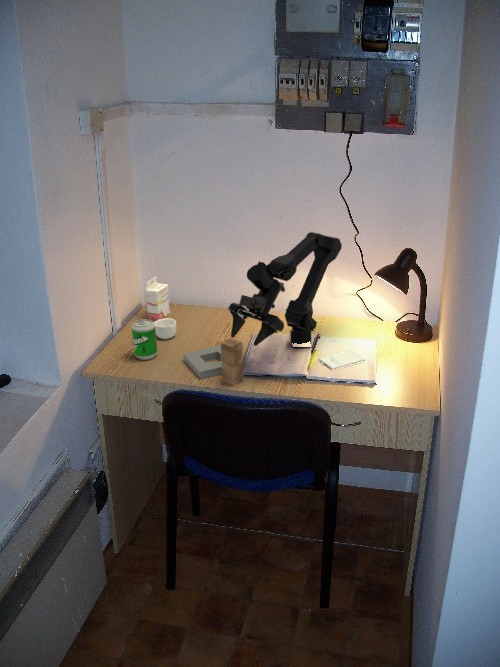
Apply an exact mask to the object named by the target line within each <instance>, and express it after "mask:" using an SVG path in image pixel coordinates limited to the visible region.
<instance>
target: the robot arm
mask: <svg viewBox="0 0 500 667" xmlns="http://www.w3.org/2000/svg"><path fill="white" fill-rule="evenodd" d="M342 245H343V244H342V242H341V239H340V238H338V237H335V236H331V235H330V236H329V235H325V234H322V233H318V232H313V231H310V232H308V233H307V234H306V236H305V237H304V238H303V239H302V240H301V241H300V242H299V243H297V245H295V246H293V248H291V250H290V251H289V252H287V253H286V254H283V255H279V256H277V257H276V258H273V259H272V260H271V261H270V262H269V263H268V264H266V263H265V262H263V261H258V262H257V264H254V265H252V266H251V267H250V268H248V270H247V271H246V279H248V281H249V282H251V284H252V285H253V286H254V287H255V288H256V289H257V290H259V291H258V292H257V293H254V294H252V296H248V295H244V294H241V296H240V298H239V303H236V302H232V303H230V304H229V307H228V308H227V310H228V311H229V313H230V315H231V317H232V326H231V332H230V333H231V334H230V338H233V339H235V337H236V336H237V334H238V333H239V332H240V331H241V329H242V327H244V325H245V324H246V319H248V318H250V319H252V320H253V319H254V320H255V321H259V322H261V327H260V330H259V331H258V333H257V335H256V337H255V339H254V341H253V346H255V347H256V346H258V345H259V344H261V343H262V342H263V341H265V340H266V339H267V338H269V337H271V336H272V335H274V334H277V333H278V332H280V333H282V332H283V330H284V328H285V323H284V321H283V320H282V319H281V318H280V317H279V316H277V315H274V314H271V313H270V311H271V309H275V308H276V305H275V302H276V299H277V297H278V296H279V294H280V292H283V293H285V291H286V289H285V286H284V284H285V283H284V282H281V281H285V282H288V281H290V280H291V279H292V278H293V276H294V275H295V274H296V272H297V268H298V266H299V265H300V264H301V263H302V262H304V260H305V259H306V258H307V257H309V255H311V254H312V253H313V255H314V256H313V257H314V259H313V262H312V264H311V266H310V268H309V272H308V273H307V276H306V277H305V281H304V283H303V285H302V287H301V289H300V292H299V295H298V297H297V298H296V299H290V300H289V301H288V302H289V303H288V305H287V307H286V309H285V314H284V318H285V321H286V326H287V327H290V328H291V330H289V343H290V342H291V343H293V344H294V343H297V344H302V343H307V342H309V341H310V342H311V343H312V332H314V331H315V329H316V328H317V323H318V322H317V320H315V319H314V318H313V315H314V314H313V313H314V309H313V302H314V299H315V298H316V295H317V292H318V290H319V287H320V285H321V282H322V280H323V278H324V276H325V273H326V270H327V268H328V266H329V265H330V264H331V263H332V262H333V261H335V259H337V257H338V255H339V254H340V252H341V250H342V247H343V246H342ZM279 280H280V281H279ZM291 343H290V344H291Z"/></svg>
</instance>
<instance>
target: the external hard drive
mask: <svg viewBox="0 0 500 667" xmlns="http://www.w3.org/2000/svg"><path fill="white" fill-rule="evenodd" d="M317 360H320V361H321V362H323V363H324V364H326V365H327V366H328V367H330V368H331V369H336V368H339V367H343V366H346V365H349V364H354V363H357V362H361V361H365V362H366V359H365V358H364V357H362V356H361V355H360V354H358V353H356V352H355V351H353V350H351V349H348V350H345V351H342V352H338V353H335V354H330V355H327V356H323V357H320V358H319V357H318V358H317ZM321 362H320V363H321ZM324 364H323V365H324ZM326 365H325V366H326ZM328 367H327V368H328ZM331 369H330V370H331Z"/></svg>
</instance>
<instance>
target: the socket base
mask: <svg viewBox="0 0 500 667" xmlns="http://www.w3.org/2000/svg"><path fill="white" fill-rule="evenodd" d="M182 356H183V361H184V363H185V364H186V365H187V366H188V367H189V368H190V370H192V371H193V373H194V374H195V375H196V376H197V377H198V378H199V379H200V380H204V379H207V378H211V377H215V376H220V375H222V358H221V344H220V345H216V346H211V347H206V348H203V349H198V350H193V351H190V352H189V351H188V352H184V353H183V354H182ZM217 359H218V361H214V360H217ZM210 361H214V362H210ZM207 362H209V363H207Z"/></svg>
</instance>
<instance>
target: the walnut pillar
mask: <svg viewBox="0 0 500 667" xmlns="http://www.w3.org/2000/svg"><path fill="white" fill-rule="evenodd" d="M220 345H221V358H222V374H221V375H222V377H221V380H222V382H223V383H225V384H227V385H230V386H233V387H234V386H237V385H238V384H240V383H241V382H243V381H244V356H243V355H244V354H243V352H244V351H243V348H244V347H243V341H241V340H239V339H236V338H232V337H230V338H228V339H226V340H224V341H221V342H220Z"/></svg>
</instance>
